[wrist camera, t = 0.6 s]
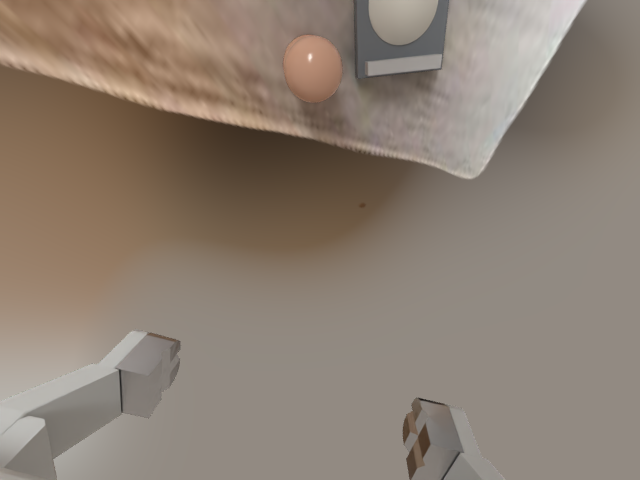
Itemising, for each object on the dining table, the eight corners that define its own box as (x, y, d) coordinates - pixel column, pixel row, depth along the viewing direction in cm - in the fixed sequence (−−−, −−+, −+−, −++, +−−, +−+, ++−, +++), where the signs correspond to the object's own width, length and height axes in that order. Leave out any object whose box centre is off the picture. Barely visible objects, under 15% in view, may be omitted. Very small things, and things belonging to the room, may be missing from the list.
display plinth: (352, -74, 36) (358, -86, 33) (451, -84, 37) (467, -97, 33) (355, 77, 45) (360, 80, 42) (435, 68, 45) (447, 70, 42)
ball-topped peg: (273, 56, 43) (266, 61, 30) (314, 22, 41) (326, 13, 28) (301, 101, 46) (306, 123, 33) (341, 72, 45) (362, 83, 32)
